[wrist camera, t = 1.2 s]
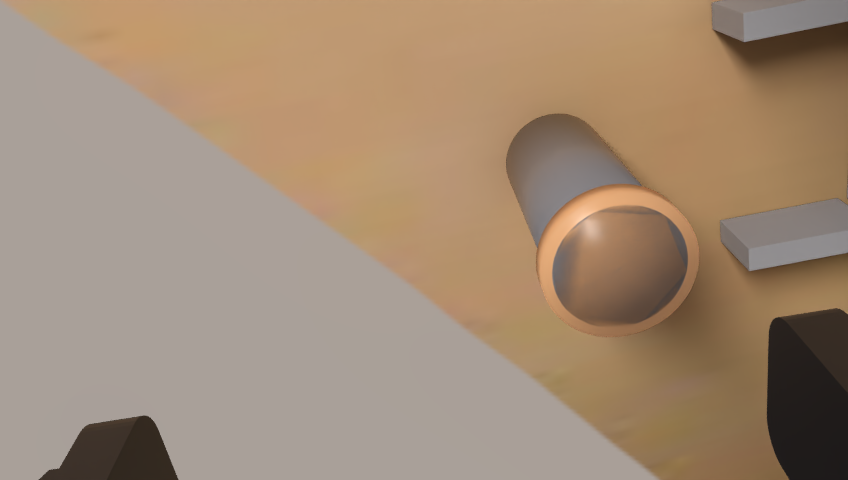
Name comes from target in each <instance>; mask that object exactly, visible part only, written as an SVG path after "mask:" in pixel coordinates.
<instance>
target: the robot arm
mask: <svg viewBox="0 0 848 480" xmlns="http://www.w3.org/2000/svg"><path fill="white" fill-rule="evenodd" d="M767 423H768V430H769V435H770V439H771V443H772V446H773V449H774V452H775V454H776V457H777V459H778V461H779V463H780V465H781V467H782V468H783V470H784V471H785V473H786V475H787V476H788V478H789V479H790V480H848V314H847V313H845V312H844V311H842V310H841V309H837V308H835V309H829V310H823V311H816V312H810V313H804V314H797V315H791V316H784V317H778V318H775V319H774V320H773V321H772V322H771V325H770V329H769V347H768V389H767ZM39 480H178V478H177V475H176V473H175V470H174V468H173V466H172V463H171V460H170V458H169V455H168V453H167V450H166V448H165V445H164V443H163V440H162V438H161V435H160V433H159V430H158V428H157V426H156V424H155V423H154V421H153V420H152V419H151V418H149V417H148V416H139V417H132V418H126V419H120V420H114V421H107V422H101V423H94V424H89V425H87V426H85V427H84V429H82V431H81V432H80V434H79V435H78V437H77V439H76V440H75V442H74V444H73V446H72V448H71V449H70V451H69V453H68V454H67V456H66V458H65V460H64V461H63V463H62V465H61V466H60V468H59V469H53V470H49V471H48V472H47V473H46V474H44V475H43V476H42V477H41V478H40V479H39Z"/></svg>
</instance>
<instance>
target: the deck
mask: <svg viewBox="0 0 848 480" xmlns="http://www.w3.org/2000/svg"><path fill="white" fill-rule="evenodd" d="M847 21H848V0H722V1H717V2H712V26H713V29H714V30H716V31H718V32H721V33H723V34H726V35H728V36H730V37H733V38H735V39H738V40H740V41H742V42H747V41H752V40H757V39H762V38H767V37H772V36H777V35H782V34H787V33H792V32H797V31H802V30H807V29H812V28H817V27H822V26H827V25H832V24H837V23H842V22H847ZM847 198H848V186H847ZM720 231H721V242H722V243H723V244H724V245H725V246H726V247H727V248H728V249H729V250H730V251H731V253H732V254H733V255H734V256H735V257H736V258H737V259H738V260H739V261H740V262H741V263H742V264H743V265H744V266H745V267H746V268H747V269H748V270H749V271H753V270H758V269H763V268H769V267H774V266H779V265H785V264H790V263H795V262H801V261H806V260H811V259H817V258H822V257H827V256H833V255H838V254H844V253H848V205H847V204H845V203H844V202H842V201H841V200H839V199H838V198H836V199H830V200H825V201H820V202H815V203H809V204H804V205H799V206H794V207H788V208H783V209H778V210H773V211H767V212H762V213H757V214H752V215H746V216H741V217H736V218H731V219H725V220H720Z"/></svg>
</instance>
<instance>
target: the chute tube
mask: <svg viewBox="0 0 848 480" xmlns="http://www.w3.org/2000/svg"><path fill="white" fill-rule="evenodd" d="M506 169H507V174H508V178H509V180H510V183H511V185H512V188H513V190H514V193H515V195H516V198H517V200H518V202H519V205H520V207H521V210H522V212H523V215H524V217H525V219H526V222H527V224H528V227H529V229H530V232H531V234H532V236H533V239H534V241H535V244H536V246H537V253H536V270H537V275H538V279H539V282H540V285H541V287H542V290H543V292H544V295H545V298H546V300H547V302H548V304H549V305H550V307H551V309H552V310H553V311H554V312H555V314H556V315H557V316H558V317H559V318H560V319H561V320H562V321H563V322H565V323H566V324H568V325H569V326H571V327H573V328H574V329H576V330H578V331H581V332H584V333H586V334H590V335H595V336H601V337H620V336H627V335H631V334H635V333H639V332H641V331H644V330H647V329H649V328H651V327H653V326H655V325H657V324H658V323H660V322H661V321H663V320H664V319H666V318H667V317H668V316H670V315H671V314H672V313H673V312H674V311H675V310H676V309H677V308H678V307H679V306H680V305H681V304H682V302H683V301H684V300H685V299H686V297H687V295H688V294H689V292H690V290H691V288H692V286H693V284H694V282H695V279H696V276H697V273H698V267H699V246H698V242H697V238H696V235H695V233H694V231H693V229H692V227H691V225H690V224H689V222H688V221H687V219H686V218H685V217H684V216H683V215H682V214H681V213H680V211H679V210H678V209H677V208H676V207H675V206H674V205H673V204H672V203H671V202H670V201H669V200H668V199H666V198H665V197H664V196H663V195H661V194H659V193H657V192H656V191H653V190H651V189H649V188H646V187H643V186H642V185H641V184H640V183H639V182H638V181H637V180H636V178H635V177H634V176H633V175H632V174H631V173H630V171H629V170H628V169H627V168H626V167H625V166H624V164H623V163H622V162H621V161H620V160H619V159H618V157H617V156H616V155H615V154H614V153H613V152H612V150H611V149H610V148H609V147H608V146H607V145H606V144H605V142H604V141H603V140H602V139H601V138H600V137H599V135H598V134H597V133H596V132H595V131H594V130H593V129H592V127H591V126H590V125H588V124H587V123H586V122H585V121H583V120H581V119H579V118H577V117H575V116H571V115H567V114H550V115H546V116H542V117H539V118H537V119H535V120H533V121H531V122H530V123H528V124H527V125H525V126H524V127H523V128H522V129H521V130H520V131H519V132H518V133H517V135H516V136H515V137H514V139H513V141H512V143H511V145H510V147H509V150H508V153H507V158H506Z"/></svg>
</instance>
